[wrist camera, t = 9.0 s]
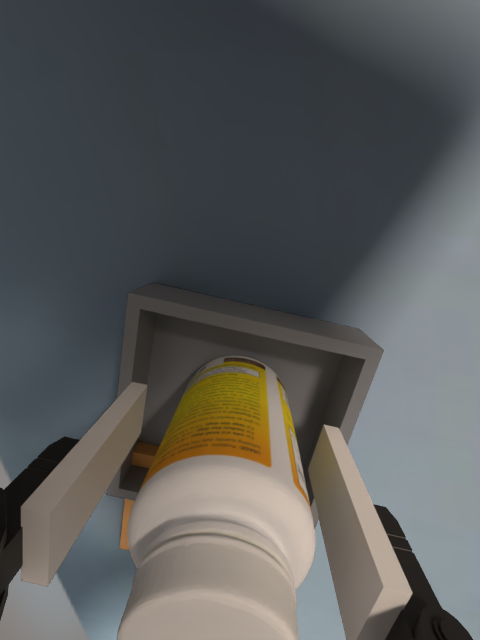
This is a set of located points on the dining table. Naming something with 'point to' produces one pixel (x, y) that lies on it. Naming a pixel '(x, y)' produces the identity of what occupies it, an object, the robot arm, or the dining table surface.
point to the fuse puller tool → (142, 458)
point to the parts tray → (239, 340)
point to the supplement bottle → (222, 515)
